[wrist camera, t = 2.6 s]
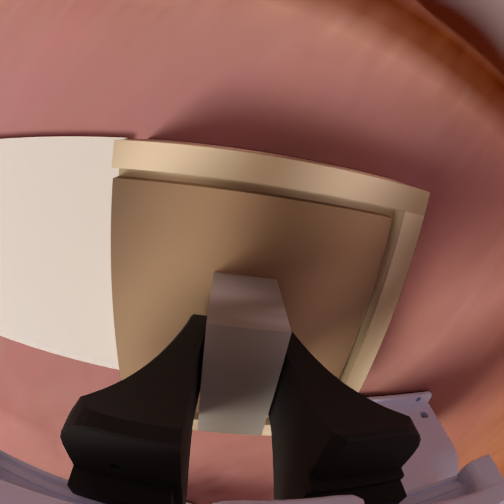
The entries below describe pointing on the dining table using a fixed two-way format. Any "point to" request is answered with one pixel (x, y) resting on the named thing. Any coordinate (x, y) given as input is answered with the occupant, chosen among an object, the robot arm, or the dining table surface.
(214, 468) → the dining table surface
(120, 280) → the lid
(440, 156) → the dining table surface
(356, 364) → the case
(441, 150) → the dining table surface
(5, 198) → the mat
